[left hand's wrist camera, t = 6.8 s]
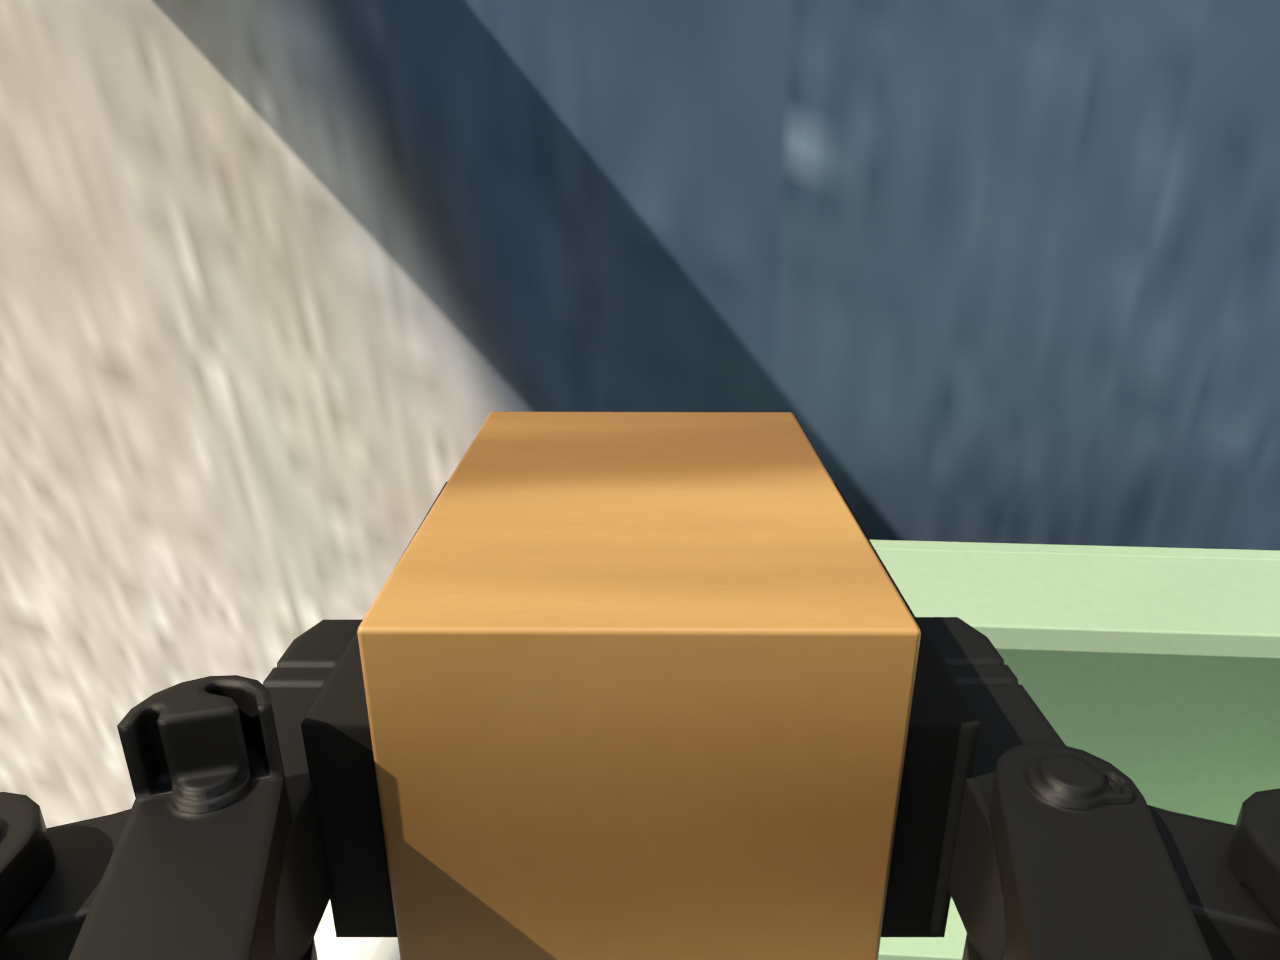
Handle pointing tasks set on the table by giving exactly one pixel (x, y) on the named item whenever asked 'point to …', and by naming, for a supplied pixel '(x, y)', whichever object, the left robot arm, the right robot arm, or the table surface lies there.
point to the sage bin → (1122, 663)
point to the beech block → (639, 698)
